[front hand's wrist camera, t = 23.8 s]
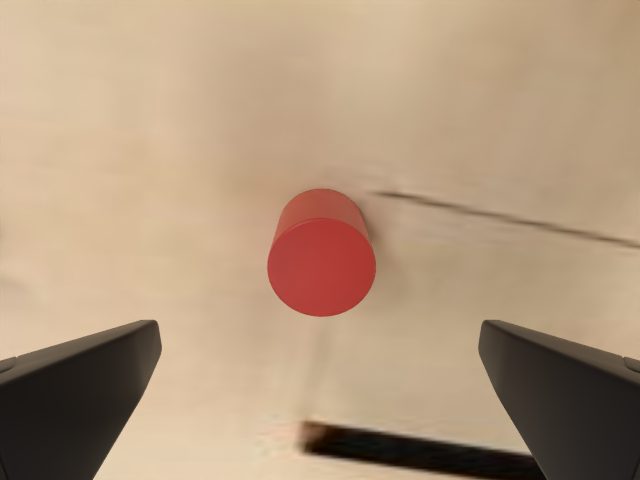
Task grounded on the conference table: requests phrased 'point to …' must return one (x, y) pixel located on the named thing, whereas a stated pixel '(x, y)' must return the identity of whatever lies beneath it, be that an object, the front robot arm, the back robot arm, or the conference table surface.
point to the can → (321, 254)
